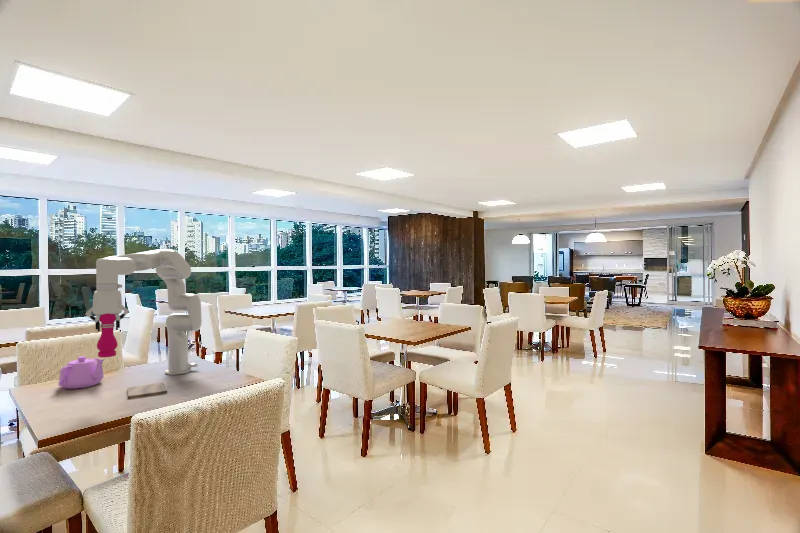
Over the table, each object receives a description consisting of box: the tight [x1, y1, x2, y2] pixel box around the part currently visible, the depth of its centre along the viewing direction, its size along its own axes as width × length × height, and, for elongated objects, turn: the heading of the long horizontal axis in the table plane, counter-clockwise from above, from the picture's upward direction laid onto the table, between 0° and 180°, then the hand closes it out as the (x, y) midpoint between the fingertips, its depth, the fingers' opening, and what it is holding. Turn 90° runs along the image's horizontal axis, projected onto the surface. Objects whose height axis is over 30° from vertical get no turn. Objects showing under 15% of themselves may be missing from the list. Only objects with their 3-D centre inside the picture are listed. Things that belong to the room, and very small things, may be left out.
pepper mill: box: [96, 313, 118, 358], centre depth 179 cm, size 7×7×20 cm
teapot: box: [57, 355, 105, 390], centre depth 205 cm, size 22×22×14 cm
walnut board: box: [127, 382, 168, 400], centre depth 196 cm, size 15×15×1 cm
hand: (107, 330), depth 180 cm, fingers closed on pepper mill, 5 cm apart
